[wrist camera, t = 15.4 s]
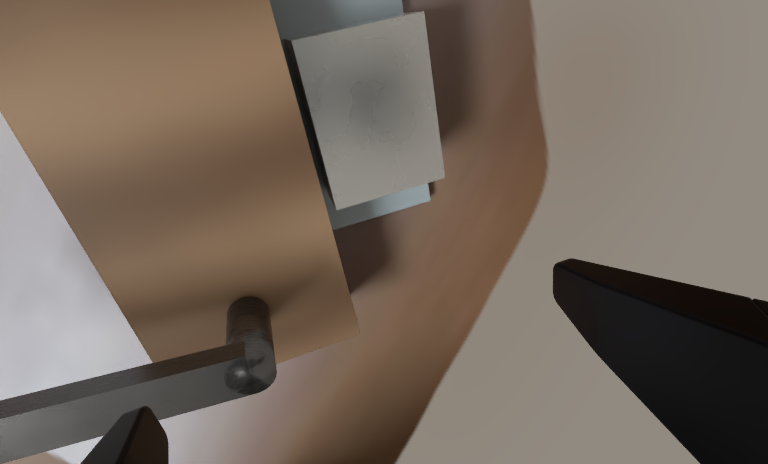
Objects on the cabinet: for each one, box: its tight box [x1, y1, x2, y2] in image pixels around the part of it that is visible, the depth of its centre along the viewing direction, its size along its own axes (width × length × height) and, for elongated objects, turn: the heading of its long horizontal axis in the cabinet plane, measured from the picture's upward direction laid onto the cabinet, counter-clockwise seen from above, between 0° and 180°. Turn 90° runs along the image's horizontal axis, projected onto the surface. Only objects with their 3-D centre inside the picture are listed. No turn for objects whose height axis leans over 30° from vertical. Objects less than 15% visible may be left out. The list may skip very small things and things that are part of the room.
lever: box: [0, 296, 277, 464], centre depth 14 cm, size 12×2×5 cm, turn 94°
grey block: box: [284, 11, 445, 210], centre depth 16 cm, size 6×4×2 cm
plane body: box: [0, 0, 361, 364], centre depth 16 cm, size 16×8×3 cm, turn 11°
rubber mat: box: [269, 0, 431, 230], centre depth 18 cm, size 10×5×1 cm, turn 11°
